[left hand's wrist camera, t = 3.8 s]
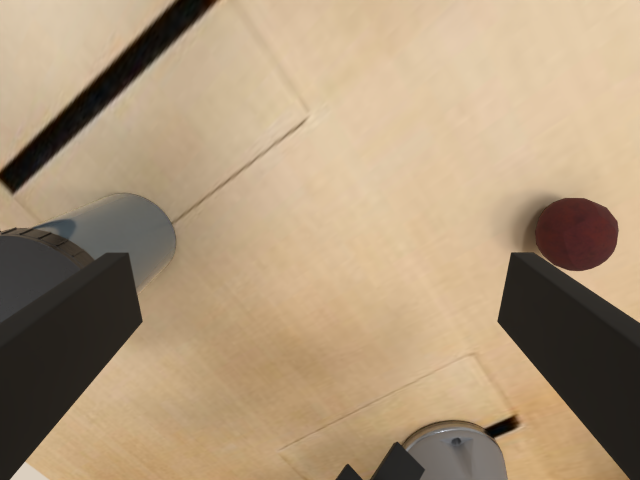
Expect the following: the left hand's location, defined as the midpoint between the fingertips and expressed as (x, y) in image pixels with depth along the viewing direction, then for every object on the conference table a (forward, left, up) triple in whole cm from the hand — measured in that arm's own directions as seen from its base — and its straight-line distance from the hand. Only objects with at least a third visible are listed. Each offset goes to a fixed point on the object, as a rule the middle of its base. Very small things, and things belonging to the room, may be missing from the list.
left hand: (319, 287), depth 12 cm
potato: (+6, +27, -28) cm, 39 cm away
